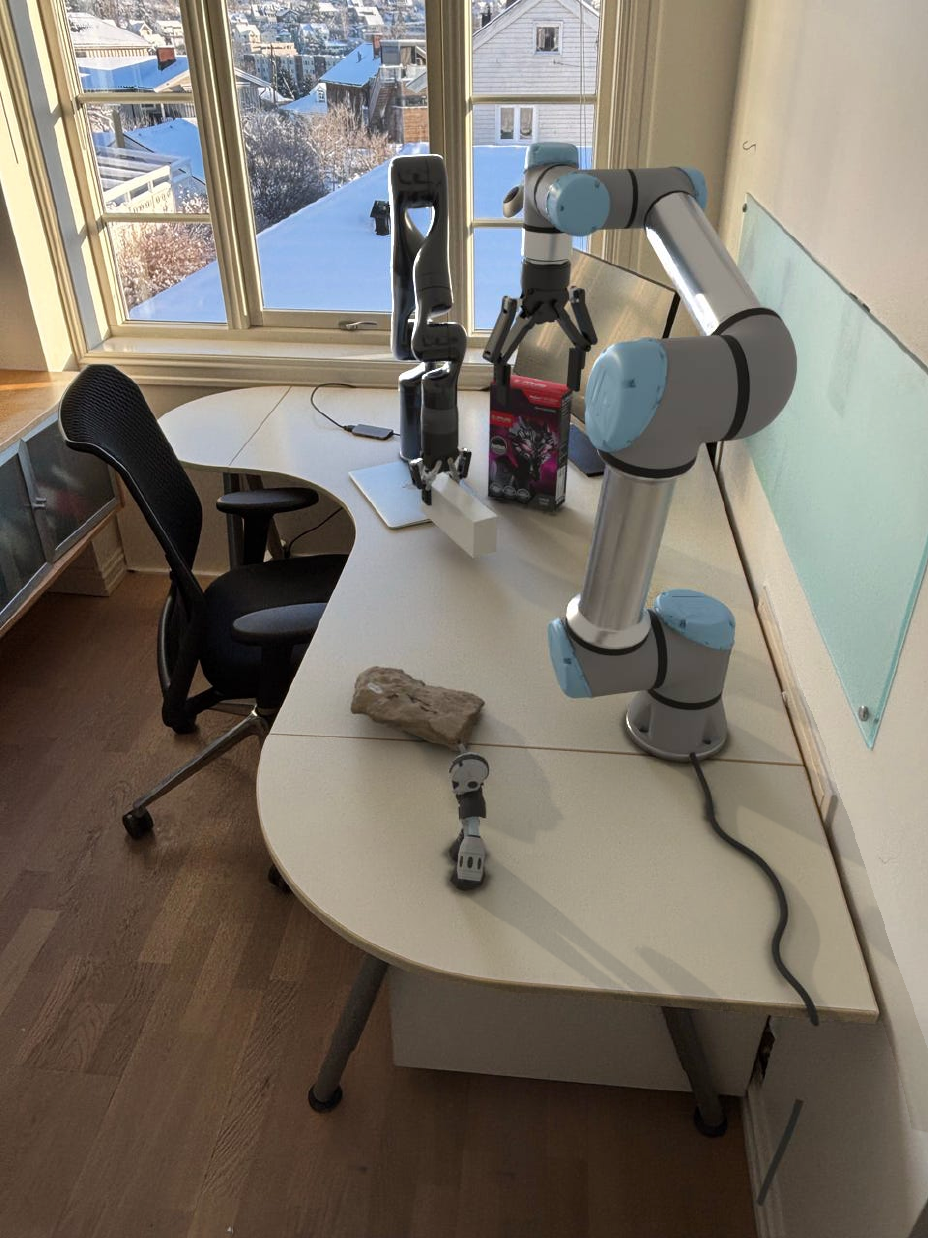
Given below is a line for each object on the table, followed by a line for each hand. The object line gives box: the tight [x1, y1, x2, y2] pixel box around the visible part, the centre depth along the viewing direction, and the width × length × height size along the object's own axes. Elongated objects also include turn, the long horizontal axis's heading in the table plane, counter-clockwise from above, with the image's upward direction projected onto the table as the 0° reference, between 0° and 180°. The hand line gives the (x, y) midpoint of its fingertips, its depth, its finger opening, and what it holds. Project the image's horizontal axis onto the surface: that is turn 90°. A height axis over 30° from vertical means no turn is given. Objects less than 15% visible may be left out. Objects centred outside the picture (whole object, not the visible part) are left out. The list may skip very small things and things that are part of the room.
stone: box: [349, 665, 486, 752], centre depth 143 cm, size 21×15×6 cm
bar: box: [420, 472, 499, 559], centre depth 187 cm, size 22×5×8 cm, turn 30°
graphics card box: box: [487, 374, 574, 513], centre depth 201 cm, size 17×7×27 cm, turn 62°
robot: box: [448, 739, 490, 891], centre depth 115 cm, size 20×5×20 cm, turn 3°
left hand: (440, 500), depth 192 cm, fingers closed on bar, 5 cm apart
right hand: (538, 396), depth 150 cm, fingers open, 13 cm apart
